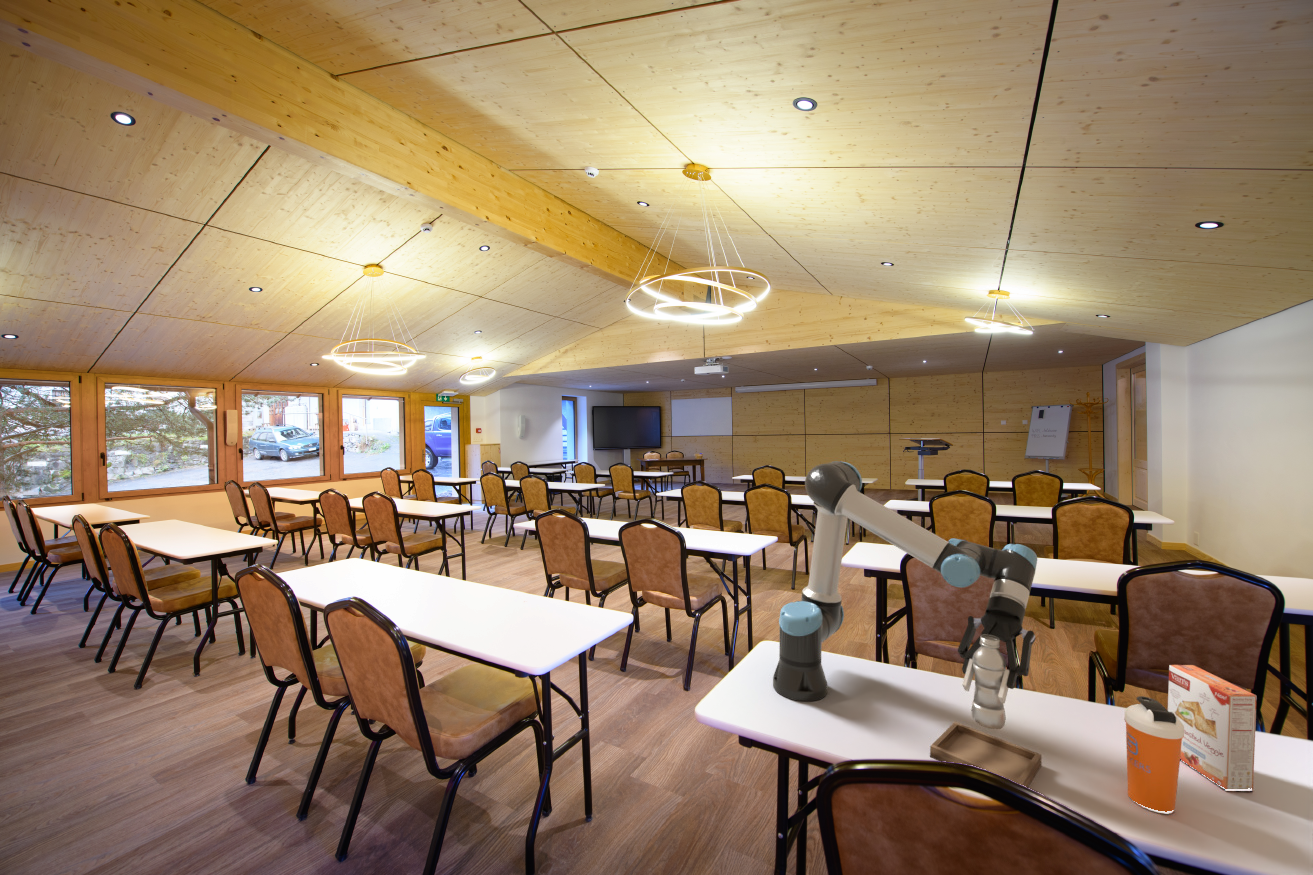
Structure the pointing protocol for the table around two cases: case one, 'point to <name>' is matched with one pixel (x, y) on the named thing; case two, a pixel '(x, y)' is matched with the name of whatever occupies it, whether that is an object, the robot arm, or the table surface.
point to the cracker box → (1214, 725)
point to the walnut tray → (986, 753)
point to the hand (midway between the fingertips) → (983, 693)
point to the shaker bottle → (1153, 754)
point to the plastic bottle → (988, 683)
